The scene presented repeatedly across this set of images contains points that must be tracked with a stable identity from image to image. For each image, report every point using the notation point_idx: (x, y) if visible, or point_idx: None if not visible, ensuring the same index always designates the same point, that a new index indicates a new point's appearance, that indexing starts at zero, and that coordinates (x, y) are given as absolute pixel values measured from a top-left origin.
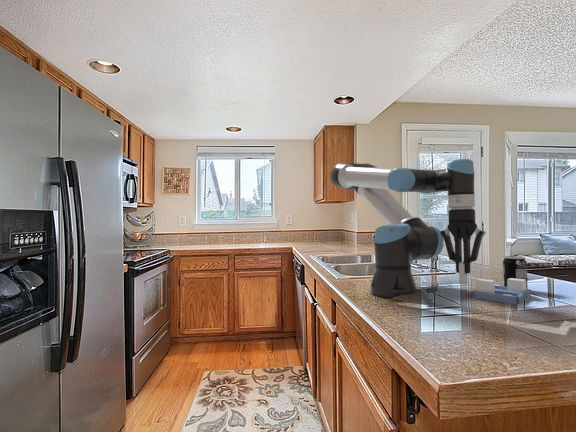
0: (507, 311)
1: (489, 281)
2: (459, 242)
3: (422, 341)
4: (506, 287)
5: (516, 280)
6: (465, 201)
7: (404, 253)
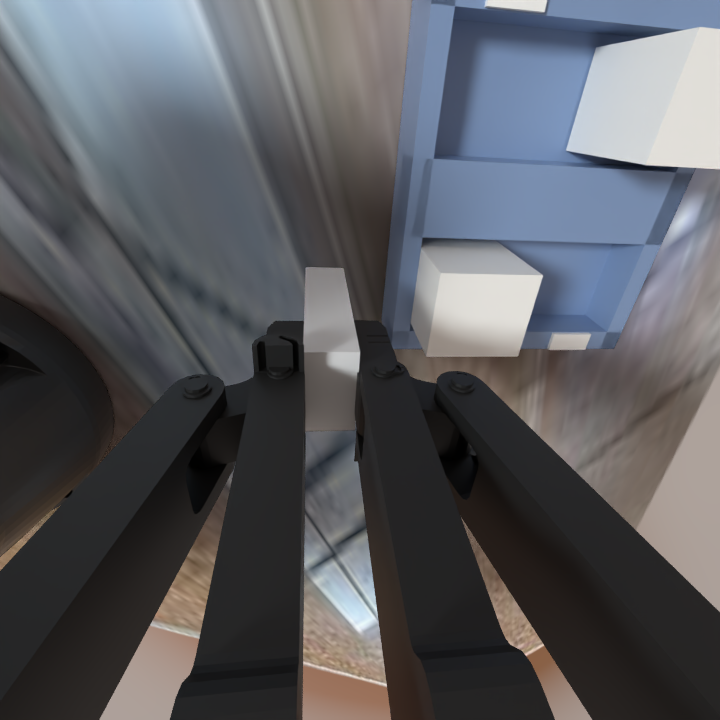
0: (531, 384)
1: (510, 339)
2: (302, 685)
3: (381, 654)
4: (599, 21)
5: (710, 165)
6: None
7: None
